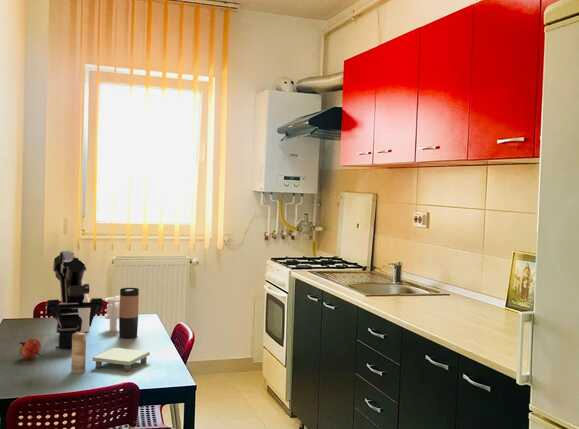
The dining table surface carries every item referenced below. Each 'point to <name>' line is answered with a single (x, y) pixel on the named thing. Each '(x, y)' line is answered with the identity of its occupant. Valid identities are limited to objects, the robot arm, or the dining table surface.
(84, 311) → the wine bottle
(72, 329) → the robot arm
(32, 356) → the pomegranate
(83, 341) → the post
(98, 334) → the dining table surface
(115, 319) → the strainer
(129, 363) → the peg shelf
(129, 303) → the travel mug
